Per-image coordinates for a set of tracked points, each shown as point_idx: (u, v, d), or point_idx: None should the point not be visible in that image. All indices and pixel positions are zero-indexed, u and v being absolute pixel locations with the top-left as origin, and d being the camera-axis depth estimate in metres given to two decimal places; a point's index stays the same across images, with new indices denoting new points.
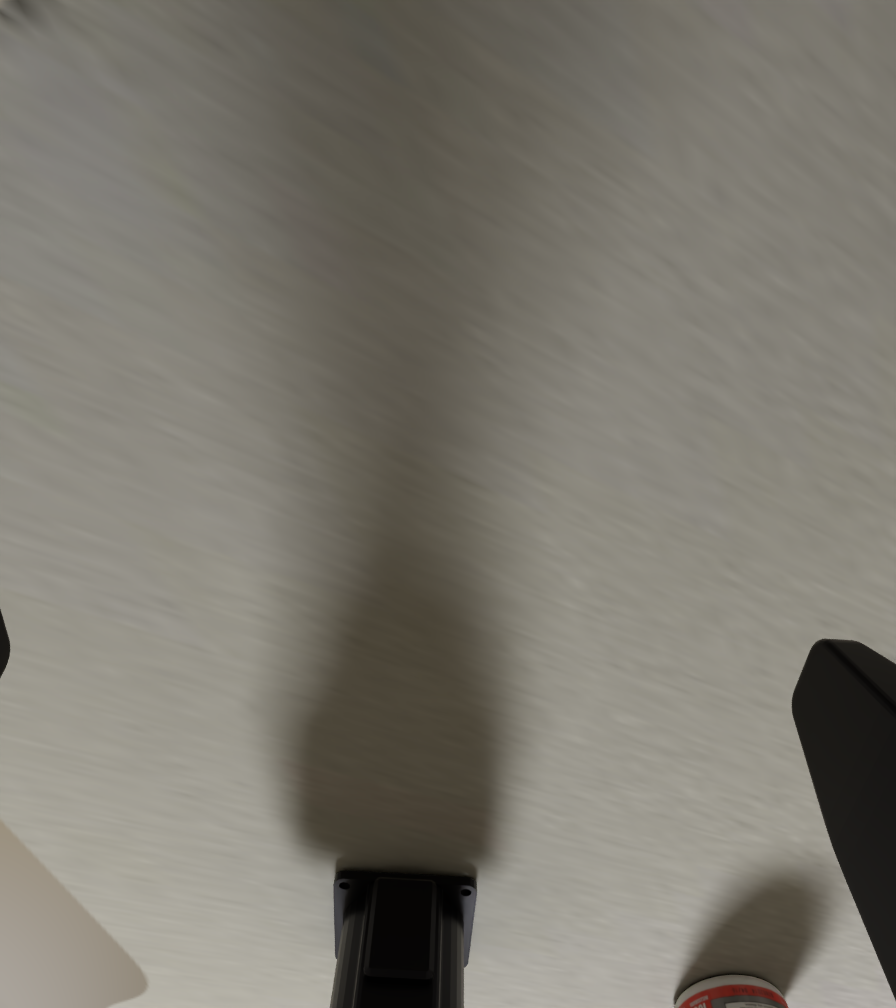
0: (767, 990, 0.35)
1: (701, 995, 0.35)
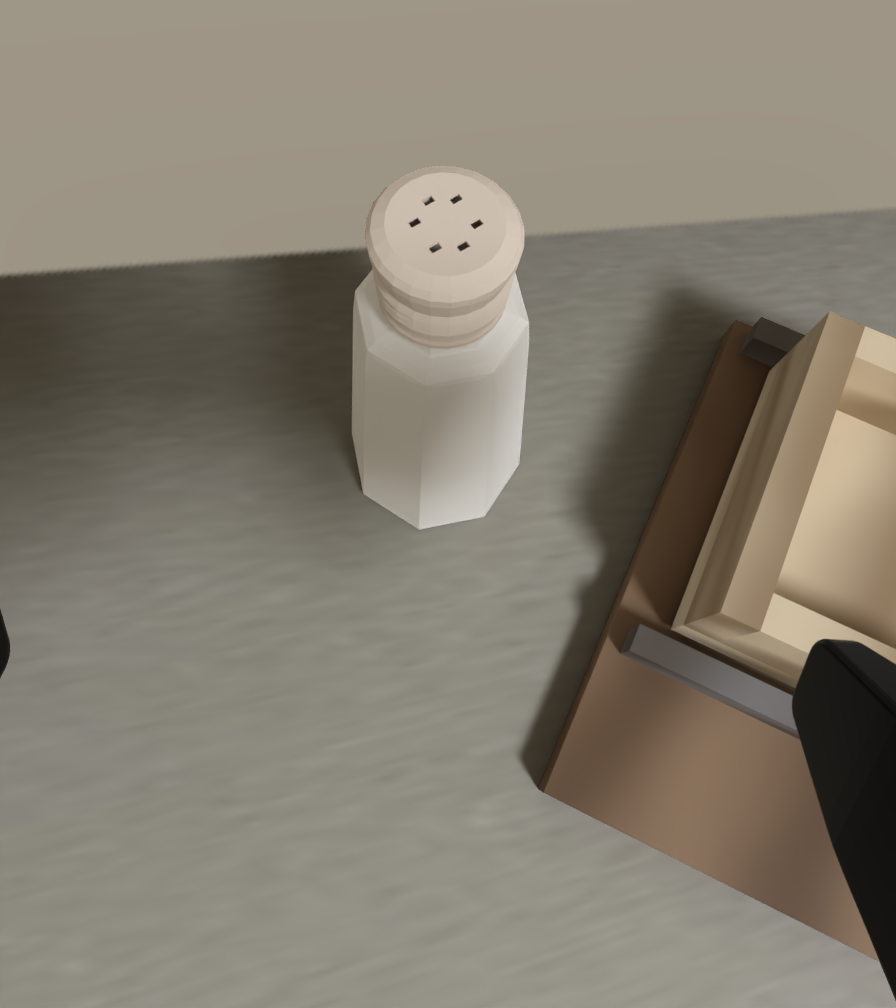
0: None
1: None
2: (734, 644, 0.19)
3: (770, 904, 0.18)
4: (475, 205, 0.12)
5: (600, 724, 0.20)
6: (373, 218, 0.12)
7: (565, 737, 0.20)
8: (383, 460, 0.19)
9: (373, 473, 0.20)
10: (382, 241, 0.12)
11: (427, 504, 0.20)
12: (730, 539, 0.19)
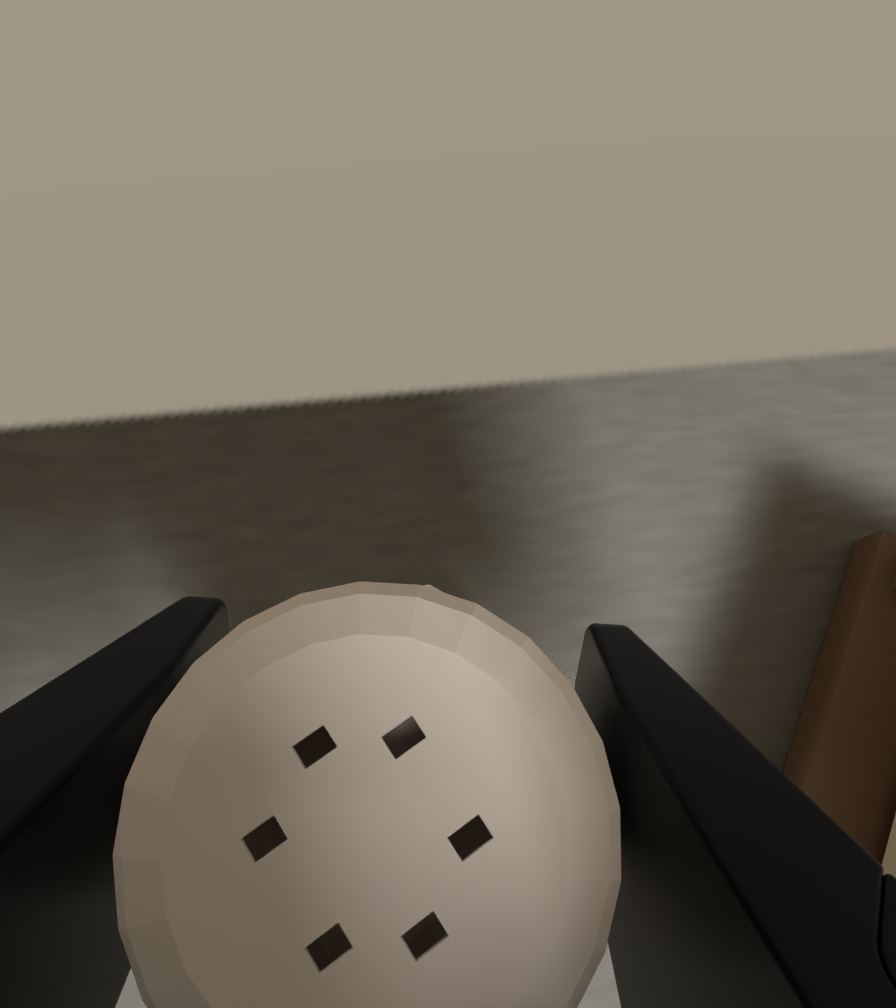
0: None
1: None
2: None
3: None
4: (468, 761, 0.04)
5: None
6: (135, 810, 0.04)
7: None
8: None
9: None
10: (153, 916, 0.04)
11: None
12: None
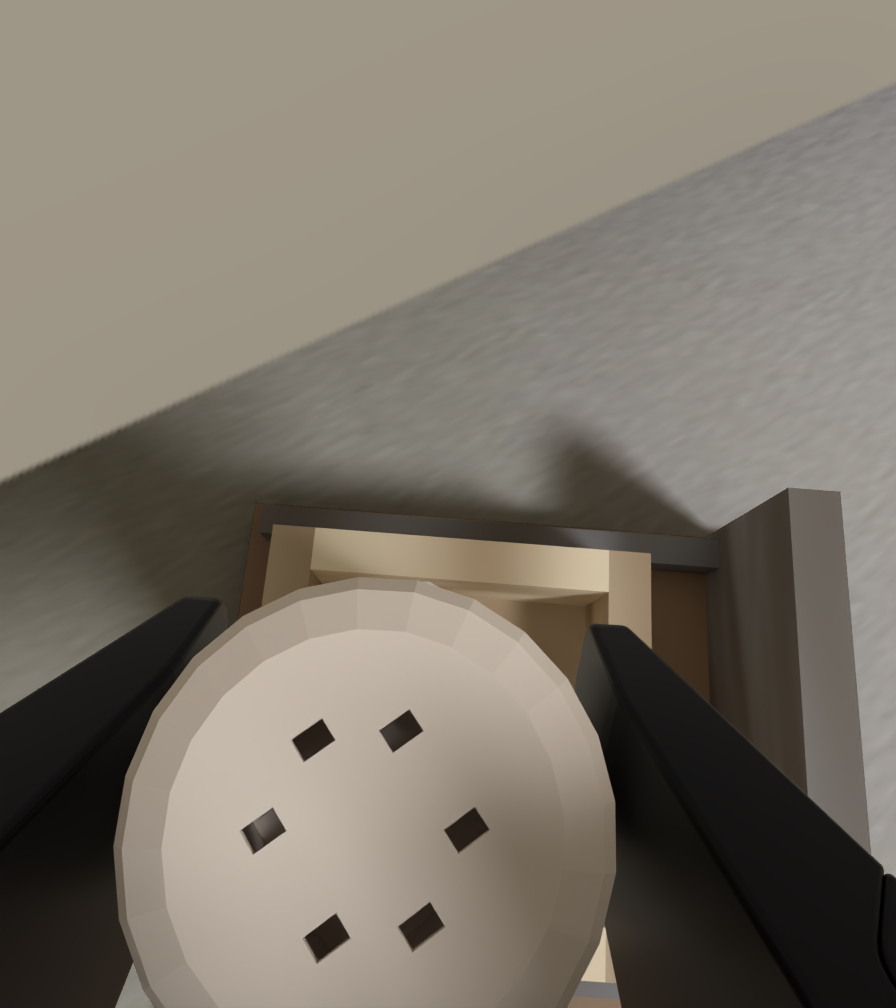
0: None
1: None
2: None
3: None
4: (464, 756, 0.04)
5: None
6: (135, 802, 0.04)
7: None
8: None
9: None
10: (153, 907, 0.04)
11: None
12: None
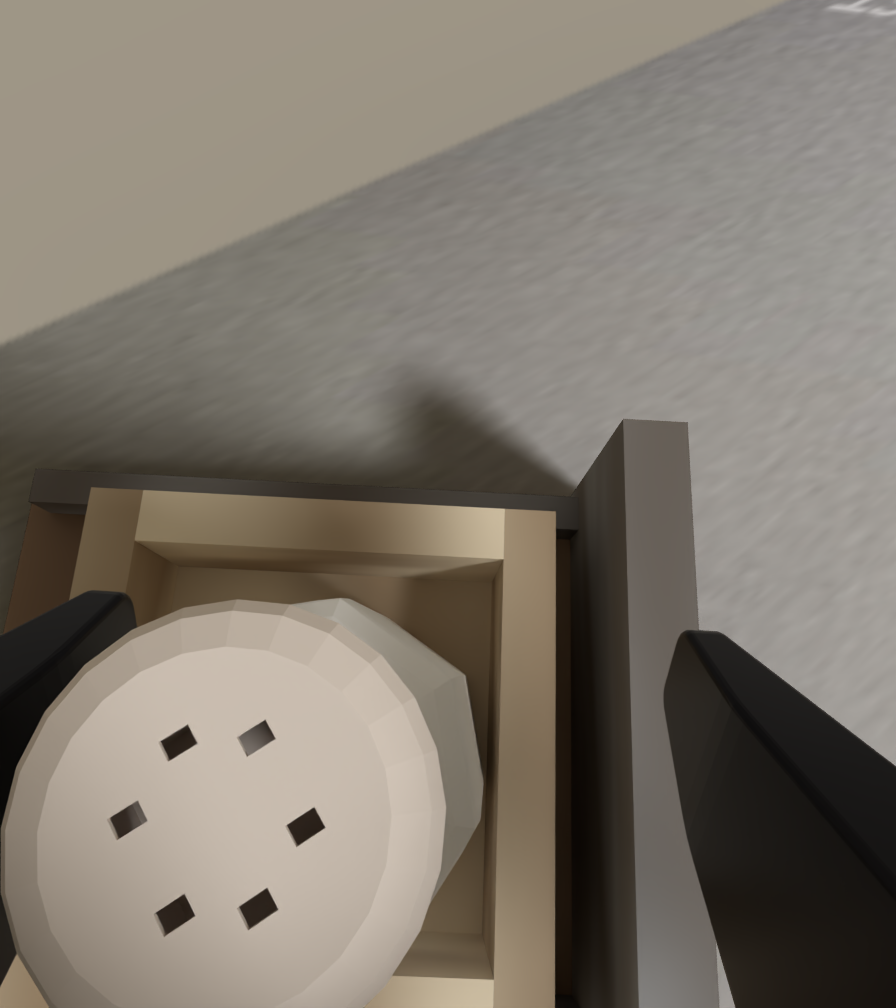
0: None
1: None
2: None
3: None
4: (310, 761, 0.04)
5: None
6: (20, 791, 0.04)
7: None
8: None
9: None
10: (27, 882, 0.04)
11: None
12: None
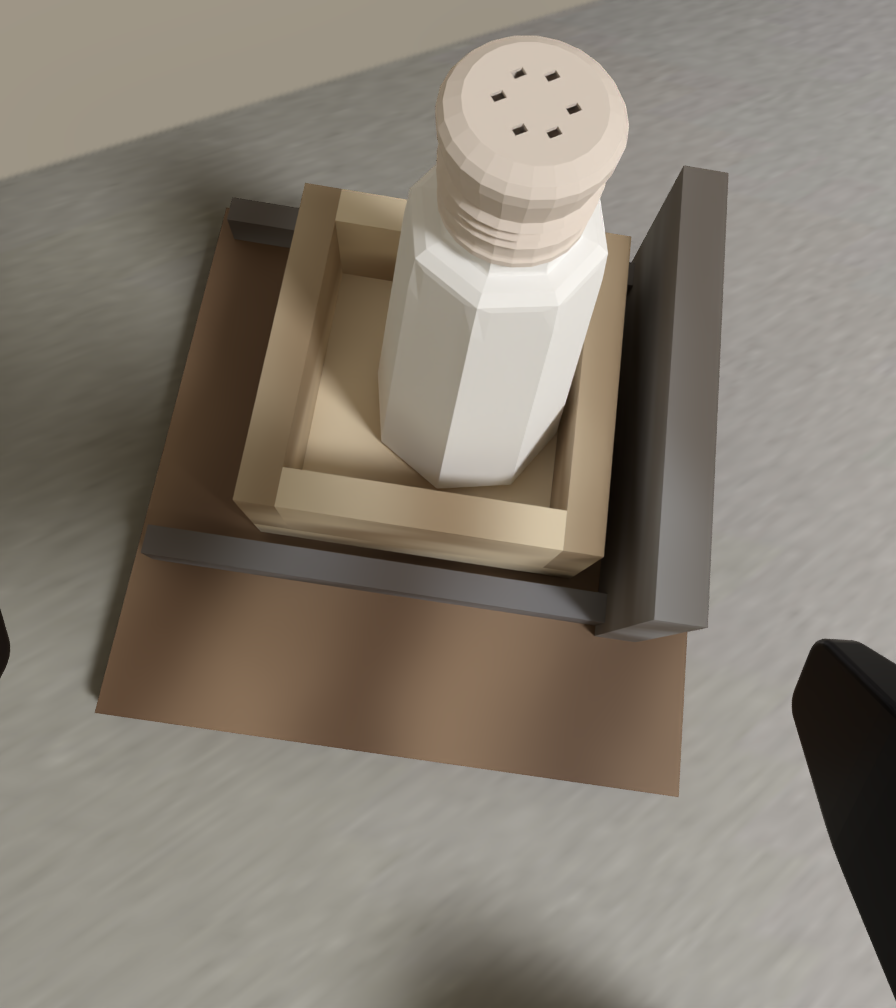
0: None
1: None
2: (297, 527, 0.19)
3: (333, 745, 0.19)
4: (575, 87, 0.10)
5: (143, 631, 0.20)
6: (449, 85, 0.10)
7: (111, 654, 0.20)
8: (410, 402, 0.17)
9: (396, 417, 0.18)
10: (456, 113, 0.10)
11: (451, 460, 0.18)
12: None
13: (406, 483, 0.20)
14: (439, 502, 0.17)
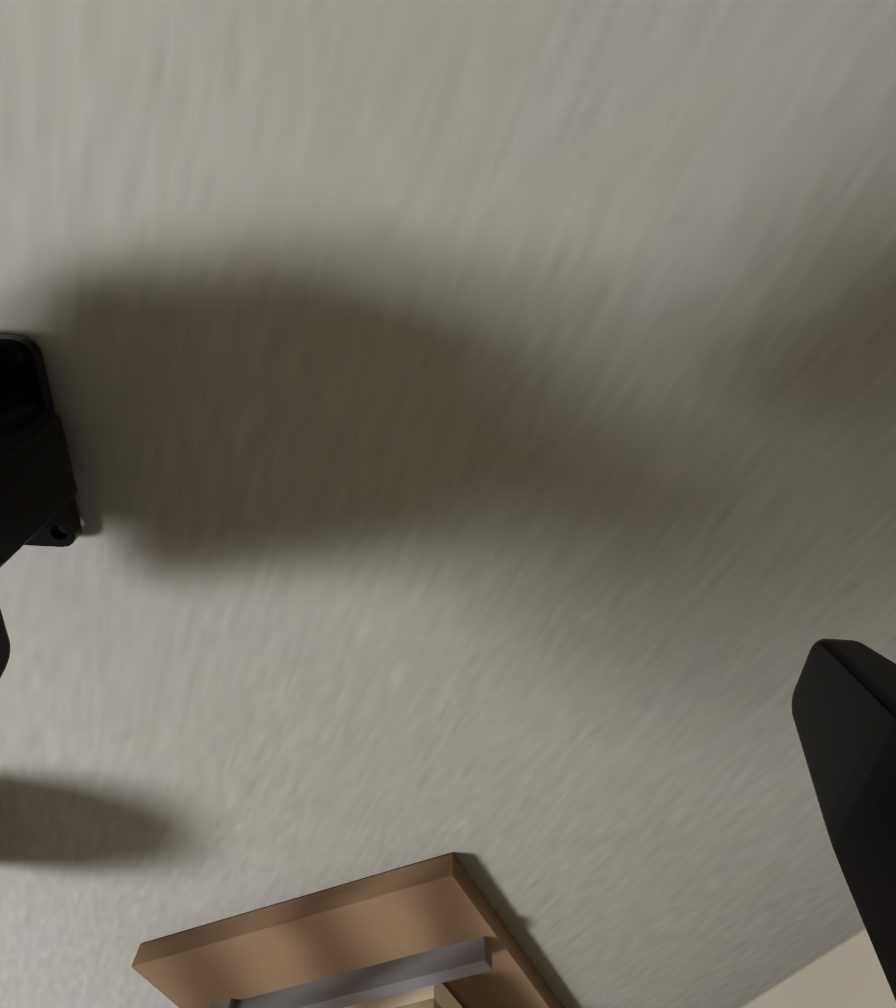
0: None
1: None
2: None
3: (315, 914, 0.30)
4: None
5: (459, 911, 0.30)
6: None
7: (468, 894, 0.29)
8: None
9: None
10: None
11: None
12: None
13: None
14: None
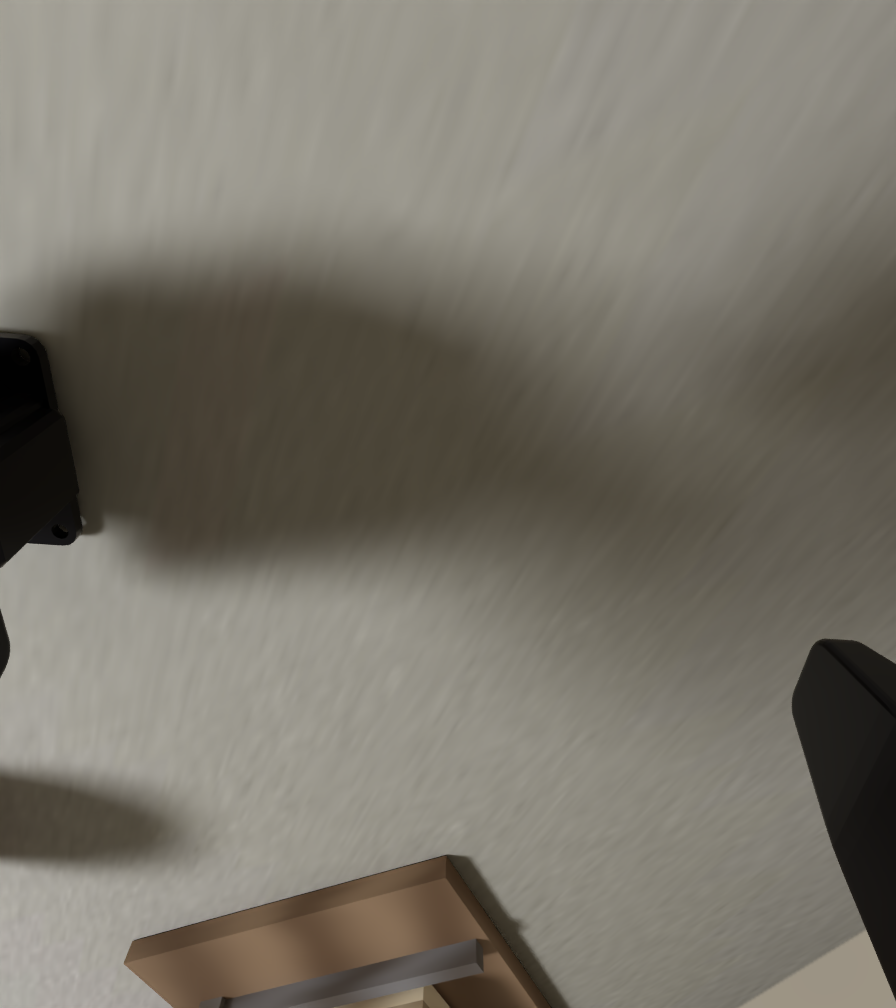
0: None
1: None
2: None
3: (307, 914, 0.30)
4: None
5: (452, 913, 0.30)
6: None
7: (460, 897, 0.30)
8: None
9: None
10: None
11: None
12: None
13: None
14: None
